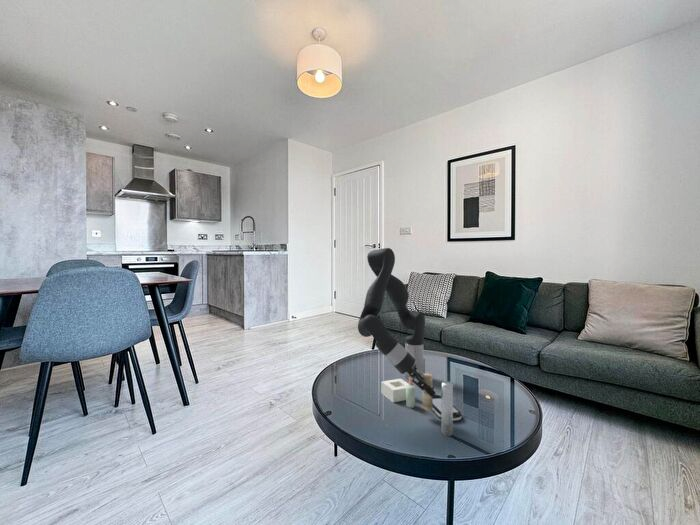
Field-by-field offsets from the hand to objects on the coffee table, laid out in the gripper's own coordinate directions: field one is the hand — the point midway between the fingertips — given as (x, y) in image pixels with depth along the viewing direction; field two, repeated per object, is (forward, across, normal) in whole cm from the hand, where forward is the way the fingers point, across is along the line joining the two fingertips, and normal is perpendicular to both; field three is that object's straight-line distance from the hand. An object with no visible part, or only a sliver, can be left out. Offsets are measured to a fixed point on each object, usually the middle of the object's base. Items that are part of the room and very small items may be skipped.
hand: (432, 392), depth 108 cm
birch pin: (+3, 0, +6) cm, 6 cm away
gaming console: (+10, +8, +4) cm, 14 cm away
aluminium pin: (+9, -9, +4) cm, 14 cm away
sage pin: (+1, +9, +12) cm, 15 cm away
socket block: (-2, +17, +16) cm, 24 cm away
